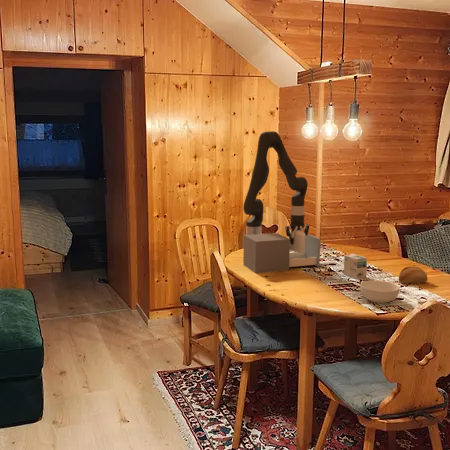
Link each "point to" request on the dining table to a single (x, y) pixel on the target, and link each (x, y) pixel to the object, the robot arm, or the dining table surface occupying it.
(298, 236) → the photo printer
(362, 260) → the light bulb box
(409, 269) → the bread roll
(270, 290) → the dining table surface
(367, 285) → the cereal bowl
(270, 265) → the cabinet
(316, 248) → the drawer tray
